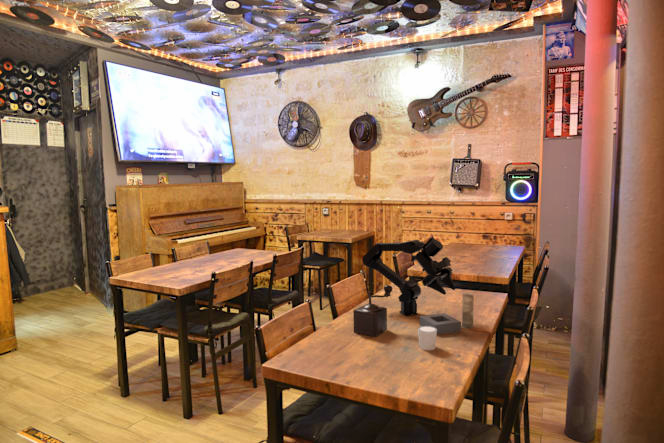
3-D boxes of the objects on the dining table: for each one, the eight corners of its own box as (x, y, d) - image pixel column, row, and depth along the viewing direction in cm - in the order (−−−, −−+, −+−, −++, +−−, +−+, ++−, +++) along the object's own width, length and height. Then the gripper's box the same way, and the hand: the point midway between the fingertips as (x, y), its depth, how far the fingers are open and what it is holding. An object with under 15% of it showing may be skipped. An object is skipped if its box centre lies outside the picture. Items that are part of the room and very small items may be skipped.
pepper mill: (376, 337, 165) (376, 292, 163) (352, 332, 171) (352, 289, 170) (394, 326, 178) (394, 284, 176) (372, 321, 184) (371, 281, 182)
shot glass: (415, 349, 153) (415, 330, 153) (420, 342, 159) (420, 324, 159) (434, 352, 150) (434, 333, 150) (438, 345, 156) (439, 327, 156)
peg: (466, 328, 173) (466, 296, 172) (460, 325, 177) (460, 294, 176) (475, 327, 175) (475, 295, 173) (469, 324, 179) (469, 293, 177)
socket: (434, 334, 167) (434, 325, 167) (419, 325, 178) (419, 316, 178) (460, 331, 170) (460, 321, 170) (444, 322, 182) (444, 313, 182)
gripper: (428, 254, 175) (453, 284, 169) (448, 249, 189) (472, 276, 183) (412, 271, 181) (435, 300, 175) (432, 264, 195) (454, 291, 189)
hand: (450, 291), depth 180 cm, fingers open, 9 cm apart
